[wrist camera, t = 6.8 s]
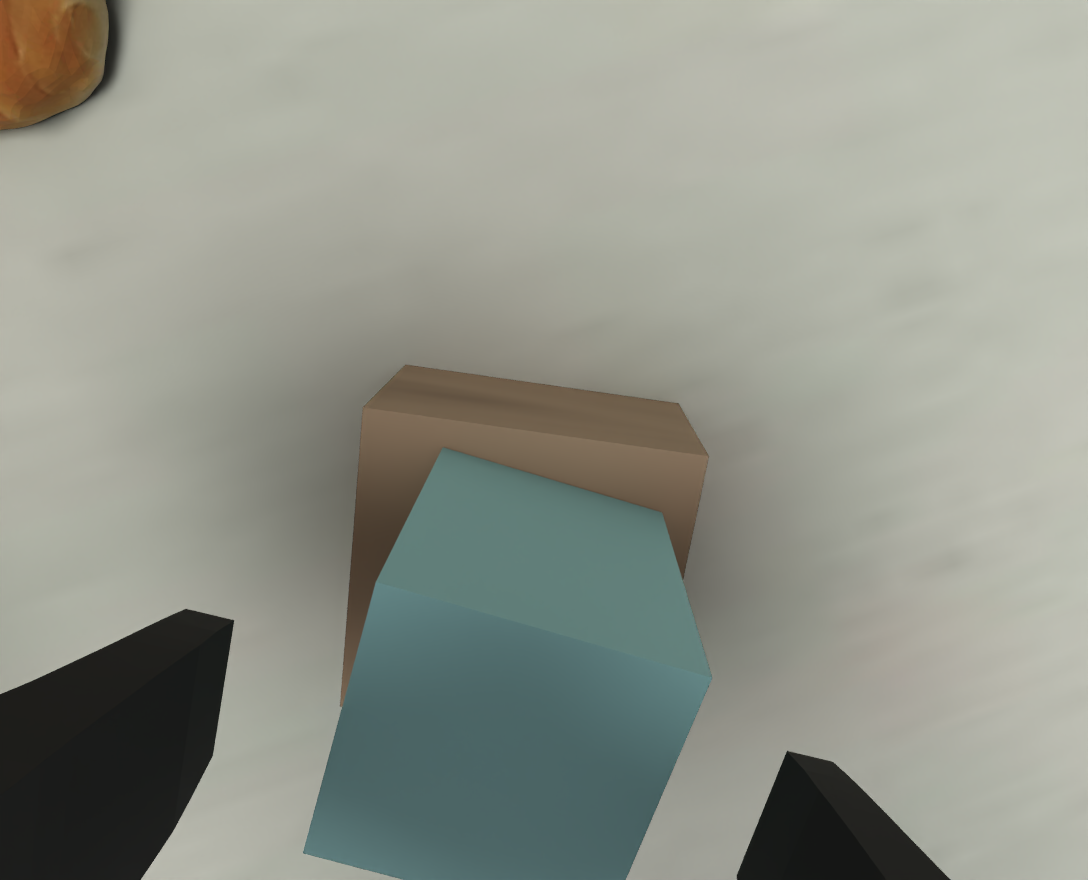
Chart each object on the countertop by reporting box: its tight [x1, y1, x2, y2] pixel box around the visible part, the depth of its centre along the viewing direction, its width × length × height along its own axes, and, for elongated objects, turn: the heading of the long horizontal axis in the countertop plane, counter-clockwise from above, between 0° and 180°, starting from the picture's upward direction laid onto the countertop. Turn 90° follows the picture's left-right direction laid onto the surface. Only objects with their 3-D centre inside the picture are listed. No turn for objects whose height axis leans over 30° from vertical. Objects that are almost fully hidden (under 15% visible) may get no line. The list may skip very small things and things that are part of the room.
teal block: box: [303, 447, 712, 880], centre depth 12 cm, size 4×4×5 cm
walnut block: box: [340, 365, 709, 707], centre depth 16 cm, size 6×6×4 cm
